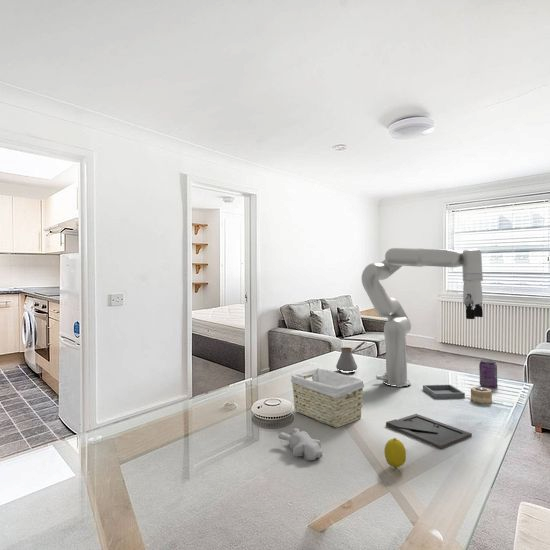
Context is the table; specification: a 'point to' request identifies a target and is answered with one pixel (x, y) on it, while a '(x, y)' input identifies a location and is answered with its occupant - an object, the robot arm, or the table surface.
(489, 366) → the beverage can
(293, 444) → the bunny figurine
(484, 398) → the maple ring
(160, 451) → the table surface
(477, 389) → the grey knobbed square plate
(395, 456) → the lemon
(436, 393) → the charcoal tray
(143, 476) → the table surface
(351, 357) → the coffee pot
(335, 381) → the storage basket
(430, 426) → the picture frame
